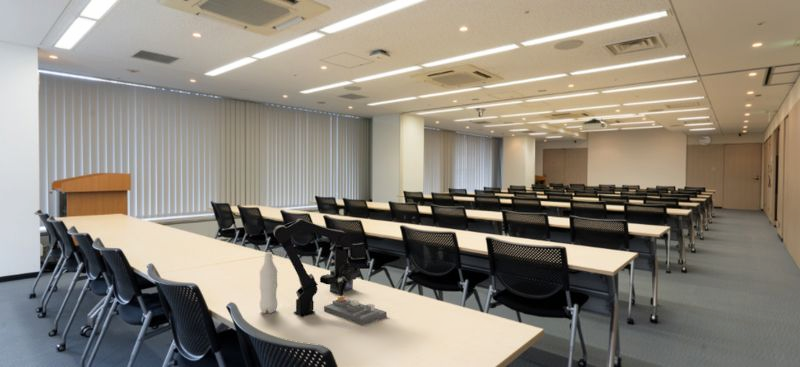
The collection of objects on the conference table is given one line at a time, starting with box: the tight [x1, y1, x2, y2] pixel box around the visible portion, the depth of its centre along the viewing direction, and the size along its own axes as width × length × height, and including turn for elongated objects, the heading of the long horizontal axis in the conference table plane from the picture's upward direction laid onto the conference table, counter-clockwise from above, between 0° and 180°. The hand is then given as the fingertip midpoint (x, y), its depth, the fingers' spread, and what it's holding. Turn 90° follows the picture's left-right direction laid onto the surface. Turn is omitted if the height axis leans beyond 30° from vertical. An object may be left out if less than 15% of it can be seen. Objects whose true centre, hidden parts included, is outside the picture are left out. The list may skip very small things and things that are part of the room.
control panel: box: [323, 298, 387, 326], centre depth 168 cm, size 13×24×4 cm, turn 48°
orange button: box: [336, 295, 346, 303], centre depth 174 cm, size 3×3×2 cm
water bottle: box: [259, 251, 278, 314], centre depth 170 cm, size 7×7×25 cm
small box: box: [329, 269, 354, 295], centre depth 201 cm, size 11×6×10 cm, turn 143°
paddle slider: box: [365, 303, 376, 313], centre depth 163 cm, size 2×3×3 cm, turn 48°
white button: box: [351, 299, 360, 307], centre depth 168 cm, size 3×3×2 cm
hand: (341, 295), depth 174 cm, fingers closed
